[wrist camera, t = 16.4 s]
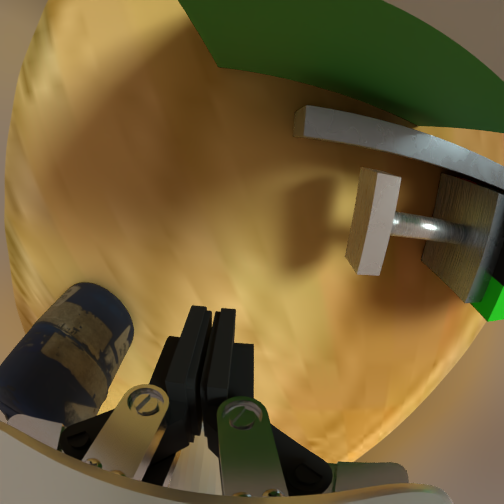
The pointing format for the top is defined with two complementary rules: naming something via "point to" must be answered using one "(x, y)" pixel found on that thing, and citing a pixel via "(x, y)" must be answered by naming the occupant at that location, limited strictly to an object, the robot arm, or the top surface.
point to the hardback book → (371, 52)
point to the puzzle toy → (493, 287)
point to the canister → (67, 357)
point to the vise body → (394, 142)
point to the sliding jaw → (431, 230)
